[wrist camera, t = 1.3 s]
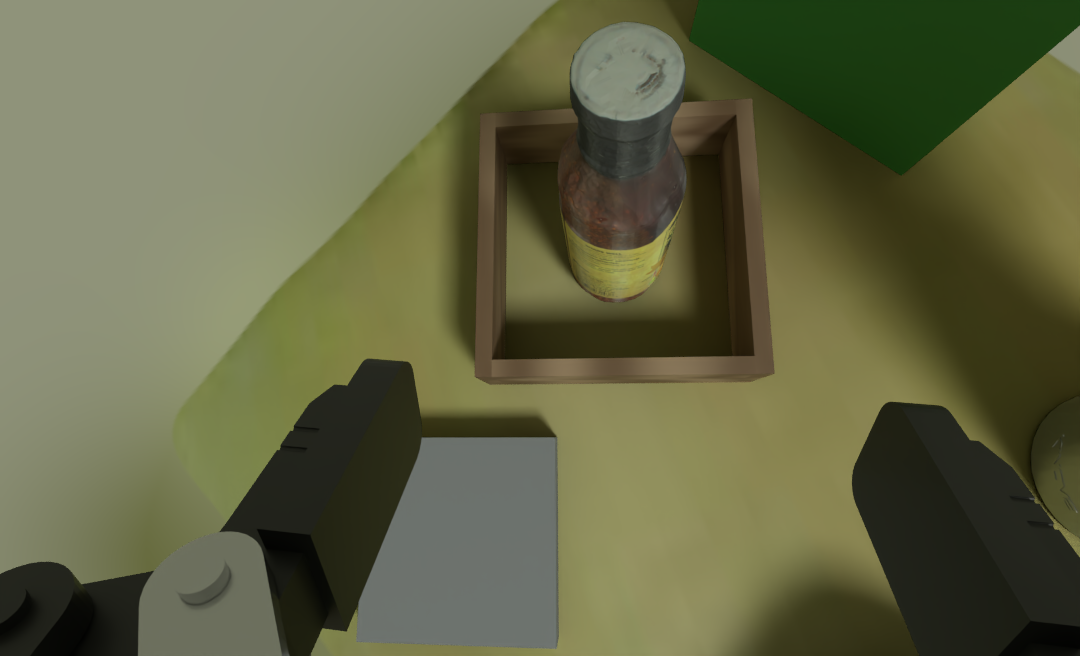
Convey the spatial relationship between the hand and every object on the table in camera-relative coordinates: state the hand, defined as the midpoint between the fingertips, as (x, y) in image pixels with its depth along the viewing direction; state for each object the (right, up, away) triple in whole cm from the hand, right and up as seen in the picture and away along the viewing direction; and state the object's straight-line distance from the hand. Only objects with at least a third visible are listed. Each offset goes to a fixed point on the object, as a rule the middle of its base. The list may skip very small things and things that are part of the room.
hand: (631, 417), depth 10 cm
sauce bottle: (+3, +6, +29) cm, 30 cm away
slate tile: (-6, -12, +26) cm, 29 cm away
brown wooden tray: (+3, +6, +28) cm, 29 cm away
